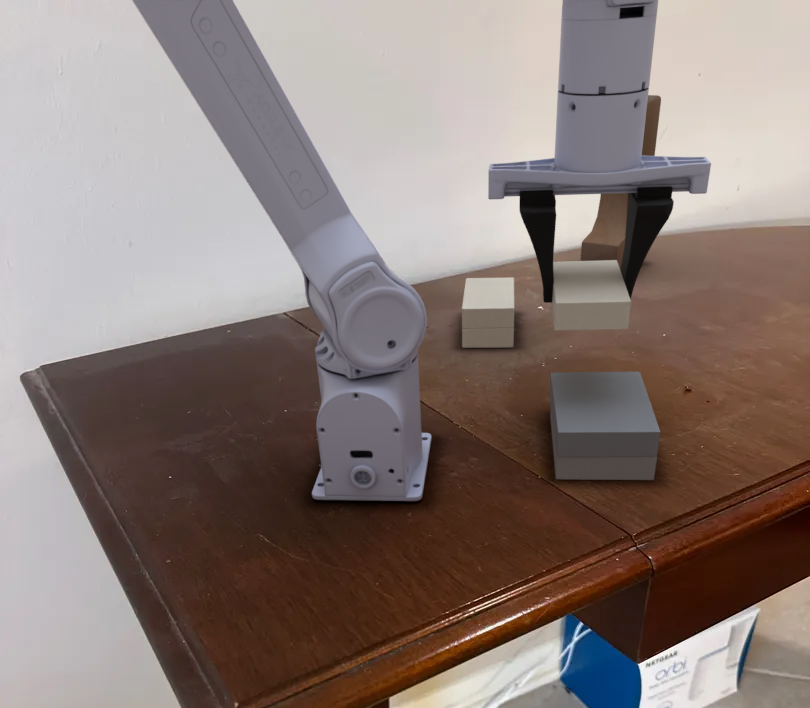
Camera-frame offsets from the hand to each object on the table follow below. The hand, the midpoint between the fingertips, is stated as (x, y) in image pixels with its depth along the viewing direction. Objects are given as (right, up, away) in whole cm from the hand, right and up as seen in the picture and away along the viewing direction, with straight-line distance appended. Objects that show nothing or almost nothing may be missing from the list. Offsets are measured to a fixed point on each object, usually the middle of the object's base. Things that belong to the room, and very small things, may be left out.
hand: (586, 297), depth 60 cm
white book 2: (-5, +3, +23) cm, 24 cm away
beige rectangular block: (0, -1, 0) cm, 1 cm away
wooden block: (+11, +14, +36) cm, 40 cm away
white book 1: (-5, +5, +22) cm, 23 cm away
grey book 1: (+1, -9, +2) cm, 9 cm away
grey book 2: (+2, -11, +3) cm, 11 cm away
